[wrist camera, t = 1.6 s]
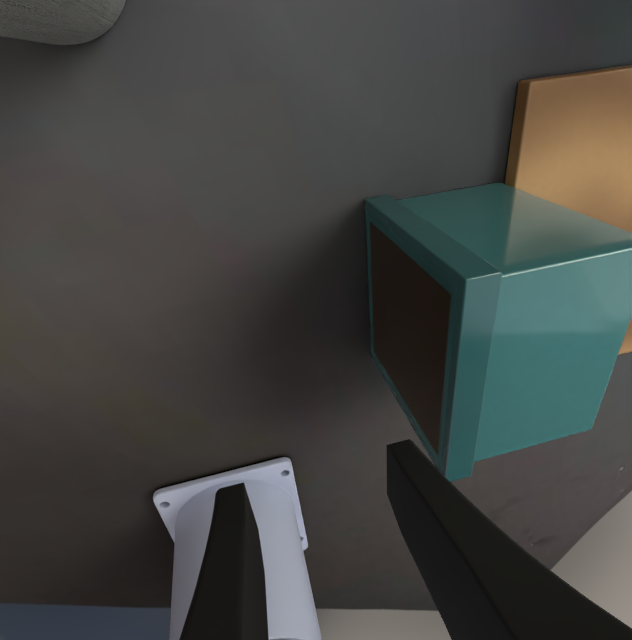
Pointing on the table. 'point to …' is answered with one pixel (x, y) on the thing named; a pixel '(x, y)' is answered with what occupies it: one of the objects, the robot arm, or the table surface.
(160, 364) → the table surface
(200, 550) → the robot arm
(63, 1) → the planter
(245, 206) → the table surface
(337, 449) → the table surface
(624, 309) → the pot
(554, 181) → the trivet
